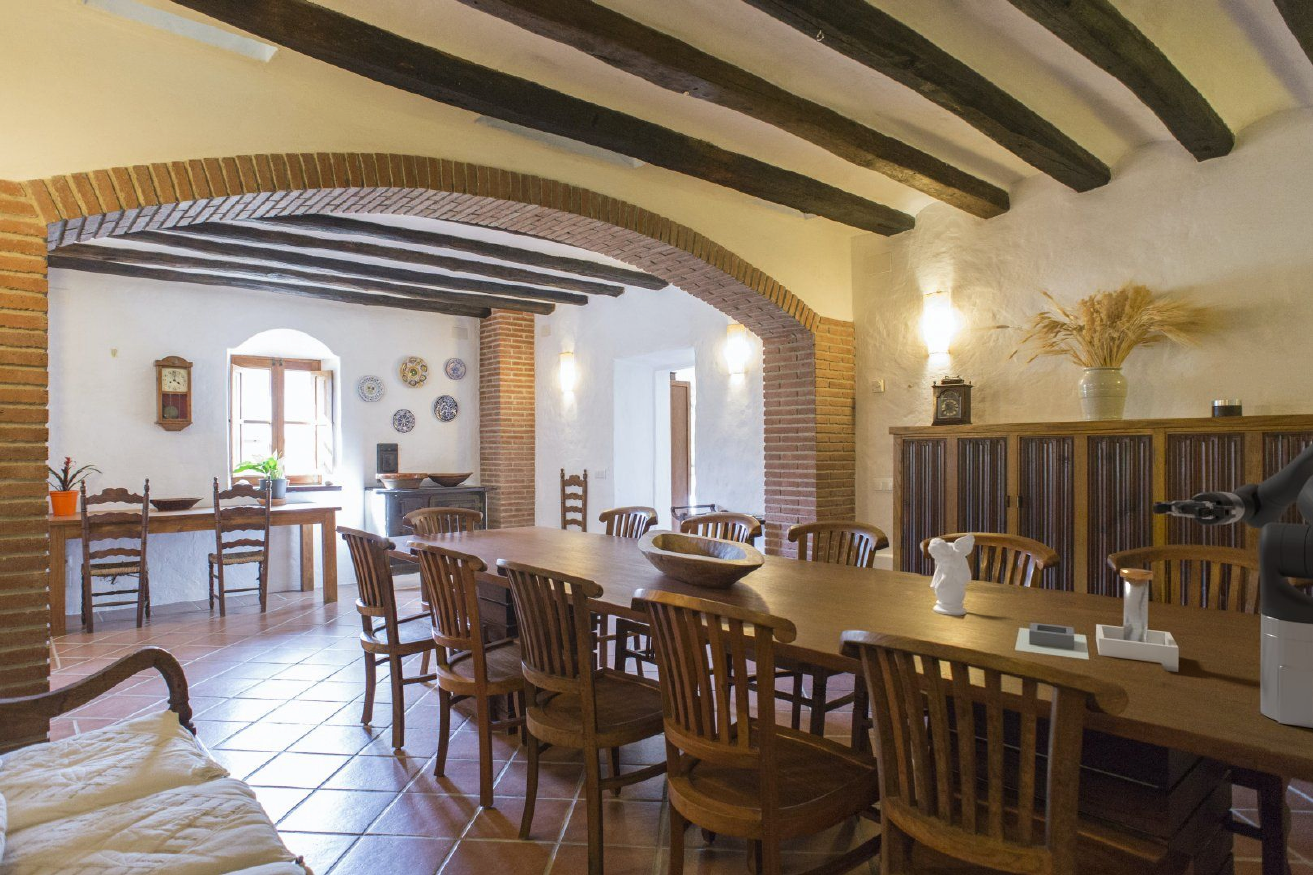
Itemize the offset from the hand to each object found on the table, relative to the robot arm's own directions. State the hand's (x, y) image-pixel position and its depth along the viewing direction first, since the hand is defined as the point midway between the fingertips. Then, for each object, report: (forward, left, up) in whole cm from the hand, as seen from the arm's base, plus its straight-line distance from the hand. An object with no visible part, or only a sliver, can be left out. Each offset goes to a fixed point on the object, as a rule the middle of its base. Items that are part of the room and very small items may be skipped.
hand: (1175, 510), depth 163 cm
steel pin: (-6, +8, -31) cm, 33 cm away
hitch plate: (-7, +24, -32) cm, 41 cm away
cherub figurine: (+22, +49, -32) cm, 62 cm away
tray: (-6, +8, -32) cm, 34 cm away
